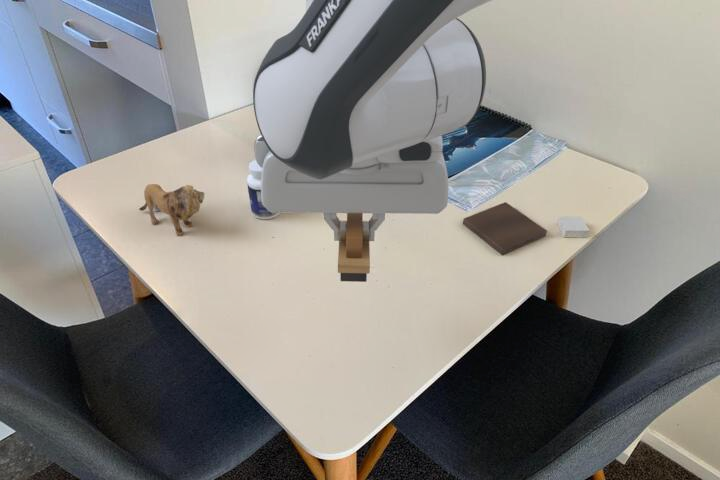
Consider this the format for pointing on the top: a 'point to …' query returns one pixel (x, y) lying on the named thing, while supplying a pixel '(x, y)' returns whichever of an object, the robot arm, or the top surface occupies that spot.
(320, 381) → the top surface
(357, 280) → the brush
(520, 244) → the board
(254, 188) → the pill bottle
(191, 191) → the lion figurine
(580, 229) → the chalk block
